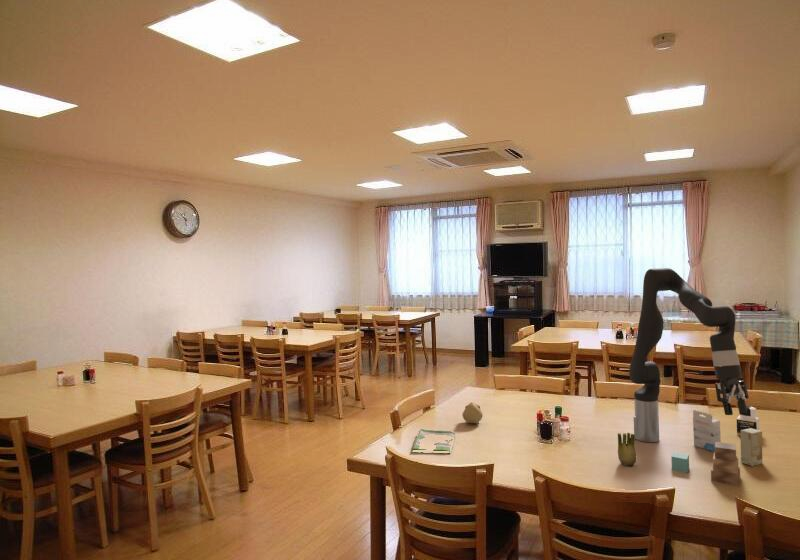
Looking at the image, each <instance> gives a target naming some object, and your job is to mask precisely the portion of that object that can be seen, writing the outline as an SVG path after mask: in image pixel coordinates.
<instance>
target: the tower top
mask: <svg viewBox="0 0 800 560" xmlns="http://www.w3.org/2000/svg"><path fill="white" fill-rule="evenodd" d="M714 452H715V459H721V460H728V461H734V462H736V456H737V444H735V443H734V444H733V443H728V442H722V441H721V442H715V451H714Z"/></svg>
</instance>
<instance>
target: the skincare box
mask: <svg viewBox="0 0 800 560" xmlns="http://www.w3.org/2000/svg"><path fill="white" fill-rule="evenodd" d="M740 463H742V464H746V465H749V466H751V467H754V466H759V465H761V464H763V431H762V430H760V429H759V430H756V429H752V428H749V429H744V430H741V435H740Z"/></svg>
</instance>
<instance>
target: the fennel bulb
mask: <svg viewBox="0 0 800 560" xmlns="http://www.w3.org/2000/svg"><path fill="white" fill-rule="evenodd" d="M634 438H635V435H634V433H630V432H627V433H624V432H623V433H622V434H621V432H618V433H617V457H618V460H619V462H620V463H621V464H622V465H624V466H628V467H632V466H633V465H635V464H636V462H637V452H636V451H637V450H636V446H635V439H634Z"/></svg>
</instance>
